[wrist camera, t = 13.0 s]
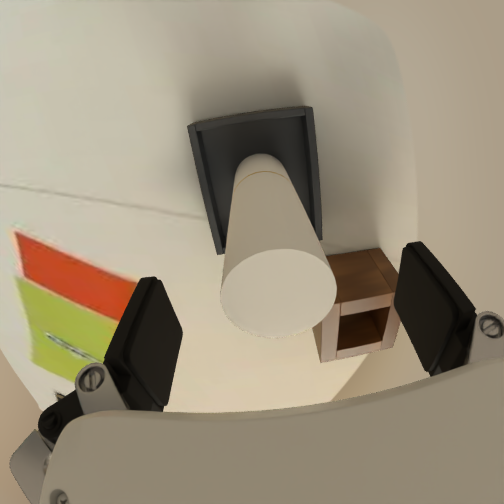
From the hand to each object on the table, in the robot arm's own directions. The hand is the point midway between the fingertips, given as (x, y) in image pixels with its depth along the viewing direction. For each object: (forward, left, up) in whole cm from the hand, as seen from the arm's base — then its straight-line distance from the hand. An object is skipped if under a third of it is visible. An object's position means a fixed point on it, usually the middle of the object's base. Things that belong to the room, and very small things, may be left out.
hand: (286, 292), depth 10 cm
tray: (0, 0, -15) cm, 15 cm away
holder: (-7, +13, -15) cm, 21 cm away
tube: (0, 0, -15) cm, 15 cm away
